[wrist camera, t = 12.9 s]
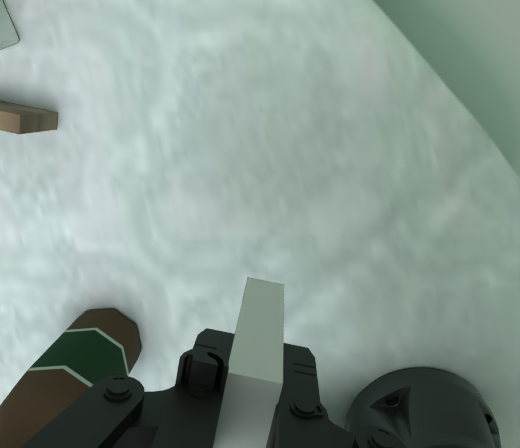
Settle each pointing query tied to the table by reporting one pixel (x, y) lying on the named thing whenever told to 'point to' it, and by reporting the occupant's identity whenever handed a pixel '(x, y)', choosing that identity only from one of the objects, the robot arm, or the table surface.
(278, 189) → the table surface
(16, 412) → the beer bottle
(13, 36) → the medicine bottle
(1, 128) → the box
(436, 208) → the table surface
